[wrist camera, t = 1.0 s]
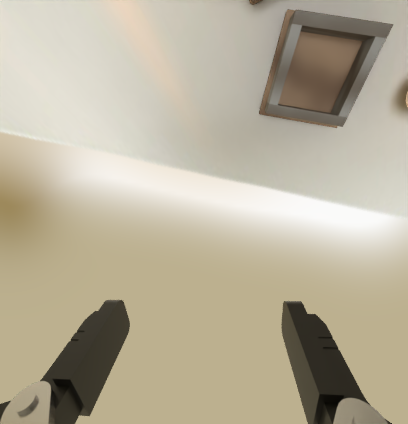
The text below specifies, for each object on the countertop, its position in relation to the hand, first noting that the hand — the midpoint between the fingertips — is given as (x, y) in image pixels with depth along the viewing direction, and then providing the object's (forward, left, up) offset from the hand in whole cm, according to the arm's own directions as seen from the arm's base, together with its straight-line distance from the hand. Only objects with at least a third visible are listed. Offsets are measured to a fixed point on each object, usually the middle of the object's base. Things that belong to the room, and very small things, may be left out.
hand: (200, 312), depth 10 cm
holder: (-12, +8, -25) cm, 29 cm away
